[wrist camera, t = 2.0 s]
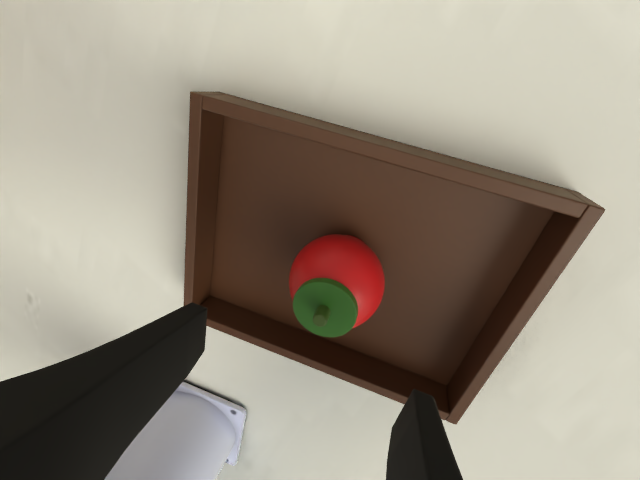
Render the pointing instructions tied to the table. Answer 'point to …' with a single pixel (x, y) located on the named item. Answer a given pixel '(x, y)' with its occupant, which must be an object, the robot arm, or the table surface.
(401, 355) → the tray
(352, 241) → the tomato
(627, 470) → the table surface
